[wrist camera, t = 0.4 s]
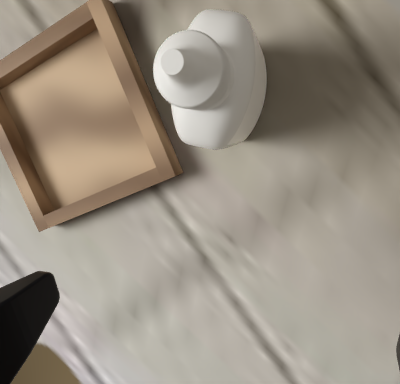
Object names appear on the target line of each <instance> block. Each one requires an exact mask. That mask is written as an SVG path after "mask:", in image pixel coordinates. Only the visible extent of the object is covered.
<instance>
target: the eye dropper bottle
mask: <svg viewBox="0 0 400 384" xmlns="http://www.w3.org/2000/svg"><path fill="white" fill-rule="evenodd" d="M153 67H154V68H153V71H154V72H153V74H154V77H153V78H154V79H155V80H154V82H156V86H157V89H159V92H160V93H161V95H162V96H163V98H165V99H166V101H169V103H171V109H172V115H173V120H174V124H175V128H176V131H177V133H178V136H179V137H180V139H181V140H182V141H183V142H185V143H186V144H189V145H192V146H197V147H201V148H206V149H213V150H217V149H224V148H227V147H230V146H233V145H236V144H238V143H241V142H243V141H244V140H246V139H247V137H248V136H249V135H250V133H251V132H252V130H253V128H254V127H255V125H256V123H257V121H258V119H259V116H260V114H261V111H262V108H263V104H264V100H265V95H266V86H267V73H266V64H265V58H264V55H263V52H262V49H261V47H260V44H259V42H258V39H257V37H256V35H255V32H254V30H253V28H252V26H251V24H250V22H249V21H248V19H247V17H246V16H244V15H242V14H241V13H239V12H233V11H227V10H218V9H207V10H204V11H201V12H200V13H199V14H198V15H197V16H196V17H195V18H194V20H193V21H192V23H191V24H190V26H189V28H188V29H187V31H186V30H184V31H182V30H181V31H180V32H177V33H176V34H175V33H174V34H173V35H171V36H170V37H169V38H167V40H165V41H164V43H162V45H161V46H160V47H159V49H158V52H157V53H156V57H155V60H154V65H153Z"/></svg>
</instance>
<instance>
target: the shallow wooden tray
mask: <svg viewBox="0 0 400 384" xmlns="http://www.w3.org/2000/svg"><path fill="white" fill-rule="evenodd" d="M0 149H1V151H2V154H3V156H4V158H5V160H6V162H7V164H8V166H9V169H10V171H11V173H12V175H13V177H14V179H15V181H16V184H17V186H18V188H19V190H20V192H21V194H22V196H23V199H24V201H25V203H26V205H27V207H28V209H29V211H30V214H31V216H32V218H33V220H34V222H35V224H36V226H37V229H38V231H39V232H40V231H43V230H45V229H47V228H50V227H52V226H55V225H57V224H60V223H62V222H65V221H67V220H69V219H72V218H74V217H77V216H79V215H82V214H84V213H87V212H89V211H92V210H94V209H96V208H99V207H101V206H104V205H106V204H109V203H111V202H114V201H116V200H118V199H121V198H123V197H126V196H128V195H131V194H133V193H136V192H138V191H141V190H143V189H145V188H148V187H150V186H153V185H155V184H158V183H160V182H163V181H165V180H167V179H170V178H172V177H175V176H177V175H179V174H181V173H183V171H182V168H181V166H180V163H179V161H178V159H177V156H176V154H175V151H174V149H173V147H172V144H171V142H170V139H169V137H168V135H167V132H166V130H165V127H164V125H163V123H162V120H161V118H160V115H159V113H158V111H157V108H156V106H155V103H154V101H153V99H152V96H151V94H150V91H149V89H148V87H147V84H146V82H145V79H144V77H143V75H142V72H141V70H140V67H139V65H138V63H137V60H136V58H135V55H134V53H133V51H132V48H131V46H130V43H129V41H128V39H127V36H126V34H125V31H124V29H123V27H122V24H121V22H120V19H119V17H118V15H117V12H116V10H115V7H114V5H113V3H112V2H110V1H109V0H89V1H88V2H86V3H85V4H83V5H82V6H80V7H79V8H77V9H76V10H74V11H73V12H71V13H70V14H68V15H67V16H65V17H64V18H62V19H61V20H59V21H58V22H57V23H55V24H54V25H52V26H51V27H49V28H48V29H46V30H45V31H43V32H42V33H40V34H39V35H37V36H36V37H34V38H33V39H31V40H30V41H28V42H27V43H25V44H24V45H22V46H21V47H19V48H18V49H16V50H15V51H13V52H12V53H10V54H9V55H8V56H6V57H5V58H3V59H2V60H0Z"/></svg>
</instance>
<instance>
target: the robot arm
mask: <svg viewBox="0 0 400 384" xmlns="http://www.w3.org/2000/svg"><path fill="white" fill-rule="evenodd" d="M59 298H60V295H59V291H58V288H57V285H56V281H55V278H54V276H53V274H52V273H50V272H43V271H37V272H35V273H32V274H30V275H28V276H26V277H23V278H21V279H19V280H17V281H15V282H12V283H10V284H8V285H6V286H3V287H1V288H0V384H10V383H11V382H12V380H13V379H14V377H15V376H16V374H17V373H18V371H19V370H20V368H21V367H22V365H23V364H24V362H25V361H26V359H27V358H28V356H29V355H30V353H31V351H32V350H33V348H34V346H35V344H36V343H37V341H38V339H39V337H40V335H41V333H42V332H43V330H44V328H45V326H46V324H47V323H48V321H49V319H50V317H51V315H52V313H53V312H54V310H55V308H56V306H57V304H58V302H59ZM396 352H397V360H398V365H399V370H400V335H399V339H398V342H397V348H396Z"/></svg>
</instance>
